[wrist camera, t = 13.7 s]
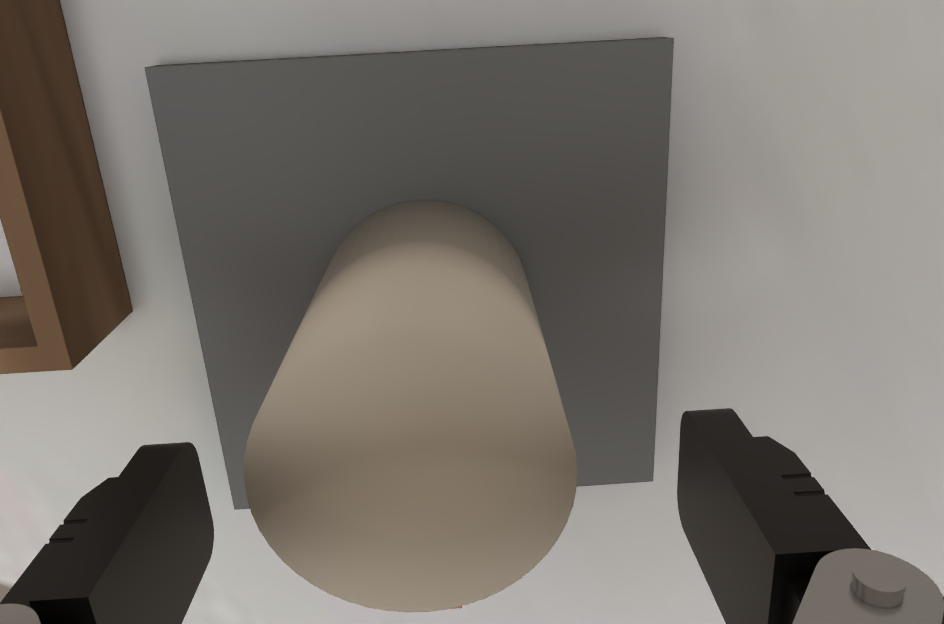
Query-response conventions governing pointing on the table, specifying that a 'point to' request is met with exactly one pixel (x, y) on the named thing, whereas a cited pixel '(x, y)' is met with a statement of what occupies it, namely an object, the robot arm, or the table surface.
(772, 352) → the table surface
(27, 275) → the holder
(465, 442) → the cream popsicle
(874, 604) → the robot arm
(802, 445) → the table surface
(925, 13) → the table surface
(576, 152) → the mat
